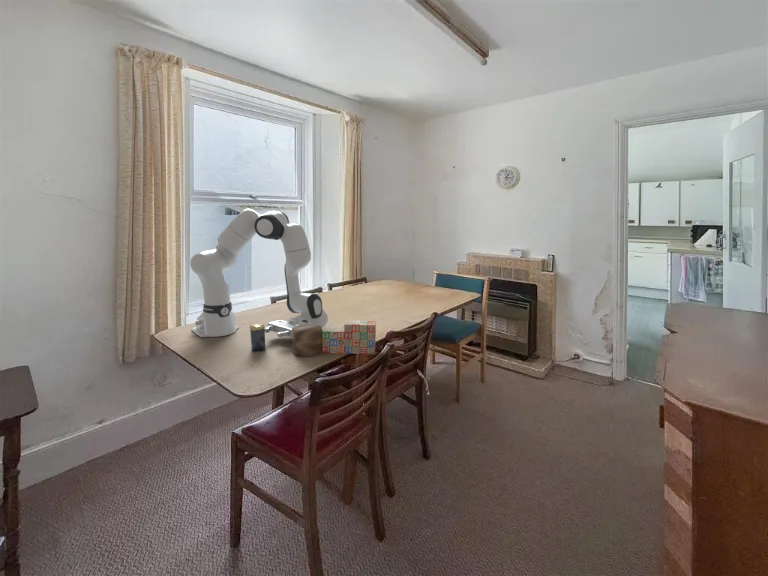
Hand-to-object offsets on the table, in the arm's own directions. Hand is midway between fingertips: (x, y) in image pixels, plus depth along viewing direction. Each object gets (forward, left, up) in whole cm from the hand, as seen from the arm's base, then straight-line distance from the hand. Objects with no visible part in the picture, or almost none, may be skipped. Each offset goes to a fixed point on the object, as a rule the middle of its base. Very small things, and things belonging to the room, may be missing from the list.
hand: (271, 332), depth 162 cm
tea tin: (0, -7, -5) cm, 9 cm away
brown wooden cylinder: (+18, +4, -6) cm, 19 cm away
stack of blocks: (+30, +16, -6) cm, 34 cm away
